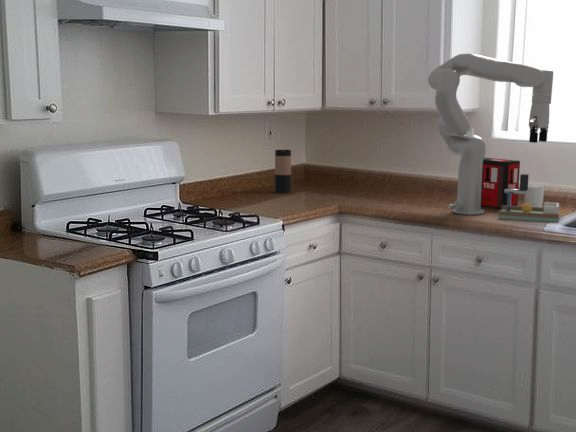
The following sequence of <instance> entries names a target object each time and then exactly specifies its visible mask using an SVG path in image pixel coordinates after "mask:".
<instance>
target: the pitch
mask: <svg viewBox="0 0 576 432" xmlns="http://www.w3.org/2000/svg"><path fill="white" fill-rule="evenodd" d="M521 207H522V205H521V206H520V205H518V206H511V210H510V211H507V205H502V208H501V209H500V210H499V211H498V220H510V219H512V220H513V221H530V222H543V223H545V222H546V223H548V222H549V223H558V222H559V217H560V213H559V214H547V213H544V206H542V207H532V210H531V212H530V213H529V212H523V211H522V209H521Z"/></svg>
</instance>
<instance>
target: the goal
mask: <svg viewBox="0 0 576 432" xmlns="http://www.w3.org/2000/svg"><path fill="white" fill-rule="evenodd" d="M543 202H544V201H543ZM543 207H544V213H547V214H559V215H560V211H559V210H560V202H550V201H549V202H548V201H545V202H544V205H543Z"/></svg>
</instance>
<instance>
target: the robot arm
mask: <svg viewBox="0 0 576 432" xmlns="http://www.w3.org/2000/svg"><path fill="white" fill-rule="evenodd" d="M461 76H470V77H474V78H479V79H484V80H488V81H491V82H492V81H493V82H498V83H499V82H500V83H514V84H515V85H516V86H518V87H521V88H522V87H523V88H532V94H531V106H530V107H531V108H530V112H529V119H528V127H529V140H528V141H529V143H532V144H534V143H535V144H536V143H538V141H539V142H540V143H541V142H543V143H546V142H547V141H548V132H549V123H550V105H551V104H552V97H553V96H552V95H553V84H554V83H553V81H554V71H553V70H552V69H547V68H546V69H544V68H542V69H540V68H538V67H535V66H530V65H526V64H521V63H516V62H511V61H507V60H503V59H498V58H492V57H489V56H484V55H480V54H476V53H460V54H459V53H458V54H457V55H455V56H453V57H451V58H450V59H448V60H447V61H445V62H444V63H442V64H441V65H438V67H436V68H434V69H433V70H432V71H431V72H430V73H429V76H428V80H427V82H428V85H429V87H430V88H431V89H433V90H435V96H434V104H435V107H436V110H437V111H438V114H439V115H440V116H439V117H438V119H437V129H438V131H439V133H440V135H441V137H442V138H443V140H444V141H445V144H446V145H447V147H448V149H449V150H450V151H451V153H452V154H454V155H455V156H456V157H460V160H459V164H458V169H457V171H458V172H457V174H458V175H457V191H456V192H457V194H456V195H457V197H456V201H454V203H450V204H448V206H447V207H448V209H449V210H452V212H453V213H455V214H460V215H470V216H472V215H473V216H474V215H476V216H477V215H483V214H485V209H483V208H482V207H481V190H482V169H483V160H484V158H485V155H486V150H487V149H486V148H487V147H486V142H485V140H484V139H483V138H482V137H481V136H480V135H476V134H471V133H469V132H470V129H471V123H470V119H469V118H468V117H467V115H466V113H465V111H464V110H463V108H462V106H461V104H460V103H459V100H458V98H457V92H458V88H459V85H460V82H461ZM538 131H539V132H538Z"/></svg>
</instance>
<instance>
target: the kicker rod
mask: <svg viewBox="0 0 576 432" xmlns="http://www.w3.org/2000/svg"><path fill="white" fill-rule="evenodd" d="M529 177H530V175H529V173H520V174H519V188H518V189H505V190H504V192H505V193H508V195H507V211H510V210H511V194H518V195H525V194H527V190H528V185H529Z"/></svg>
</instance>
